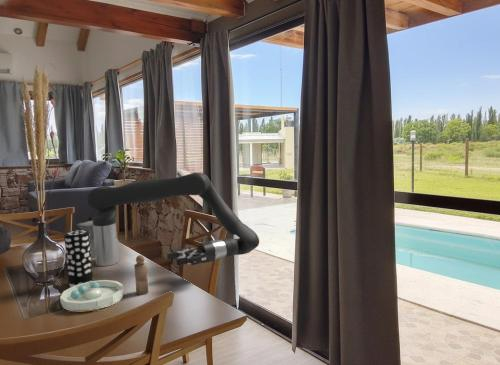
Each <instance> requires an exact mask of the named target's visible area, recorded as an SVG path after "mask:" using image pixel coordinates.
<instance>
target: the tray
mask: <svg viewBox="0 0 500 365" xmlns="http://www.w3.org/2000/svg"><path fill="white" fill-rule="evenodd" d="M59 298H60V301H59V302H60V304H61V308H62V307H63V308H64V309H66V310H93V309H99V308H104V307H108V306H111V305H113V304H115V303H116V304H118V303H119V302H121V301H122V300H121V299H123V298H124V284H123V283H121V282H119V281H117V280H112V279H111V280H108V279H100V280H99V279H98V280H93V281H90V282H86V283H82V284H79V285H75V286H73V287H71V288H69V287H68V288H67V289H66V290H64V291H62V293H61V295H60V297H59ZM120 300H121V301H120ZM117 302H118V303H117ZM116 304H115V305H116ZM113 306H114V305H113ZM111 307H112V306H111ZM63 308H62V309H63ZM108 308H109V307H108ZM64 309H63V310H64ZM66 310H65V311H66Z"/></svg>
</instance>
